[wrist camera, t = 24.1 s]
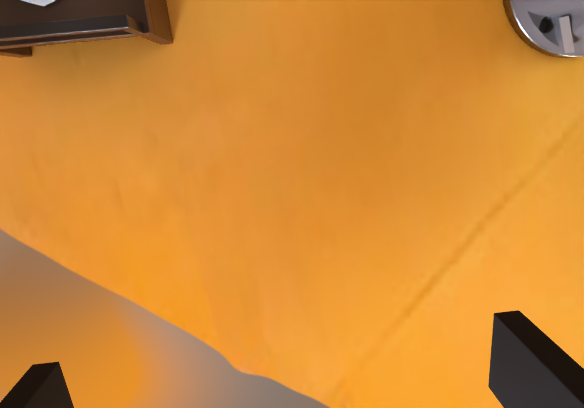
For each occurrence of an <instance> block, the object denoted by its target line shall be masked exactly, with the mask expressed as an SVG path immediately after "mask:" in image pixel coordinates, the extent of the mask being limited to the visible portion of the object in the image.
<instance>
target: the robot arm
mask: <svg viewBox="0 0 584 408" xmlns="http://www.w3.org/2000/svg"><path fill="white" fill-rule="evenodd" d="M503 3H504V7H505V11H506V13H507V16H508V19H509V21H510V23H511V25H512V27H513V28H514V30H515V31H516V33H517V34H518V35H519V36H520V38H521V39H522V40H523V41H524V42H525V43H526V44H528V45H529V46H530V47H532V48H533V49H535V50H537V51H539V52H541V53H543V54H546V55H549V56H553V57H559V58H574V57H584V0H503ZM489 388H490V389H491V391H492V392H493V393H494V395H495V396H496V398H497V399H498V400H499V402H500V403H501V404H502V406H503V407H504V408H584V369H583V368H582V367H581V366H580V365H579V364H578V363H576V362H575V361H574V360H573V359H572V358H571V357H570V356H569V355H568V354H566V353H565V352H564V351H563V350H562V349H561V348H560V347H559V346H558V345H557V344H555V343H554V342H553V341H552V340H551V339H550V338H549V337H548V336H547V335H545V334H544V333H543V332H542V331H541V330H540V329H539V328H538V327H537V326H535V325H534V324H533V323H532V322H531V321H530V320H529V319H528V318H527V317H525V316H524V315H523V314H522V313H521V312H520V311H510V312H501V313H494V321H493V334H492V347H491V360H490V373H489ZM0 408H74V407H73V403H72V401H71V397H70V394H69V391H68V388H67V385H66V382H65V379H64V376H63V373H62V370H61V367H60V364H59V362H53V363H44V364H35V365H32V366H31V367H30V369H29V370H28V371H27V372H26V373H25V374H24V375H23V377H22V378H21V379H20V380H19V381H18V383H17V384H16V385H15V386H14V387H13V388H12V390H11V391H10V392H9V393H8V394H7V395H6V396H5V398H4V399H3V400H2V401H1V402H0Z"/></svg>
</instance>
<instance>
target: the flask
mask: <svg viewBox="0 0 584 408" xmlns="http://www.w3.org/2000/svg"><path fill="white" fill-rule="evenodd" d="M21 1H25V2H29V3H33V4H37V5H40V6H45V5H47V4H50V3H52V2H54V1H56V0H21Z"/></svg>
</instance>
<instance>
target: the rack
mask: <svg viewBox="0 0 584 408" xmlns="http://www.w3.org/2000/svg"><path fill="white" fill-rule="evenodd" d="M138 36H141V37H143V38H146V39H148V40H151V41H154V42H156V43H159V44H170V43H173V39H172V33H171V27H170V21H169V15H168V9H167V4H166V0H56V1H54V2H52V3H50V4H47V5H45V6H40V5H37V4H33V3H29V2H25V1H21V0H0V55H3V56H12V57H30V56H32V53H31V49H30V46H41V45H52V44H63V43H73V42H84V41H95V40H106V39H116V38H127V37H138Z"/></svg>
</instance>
